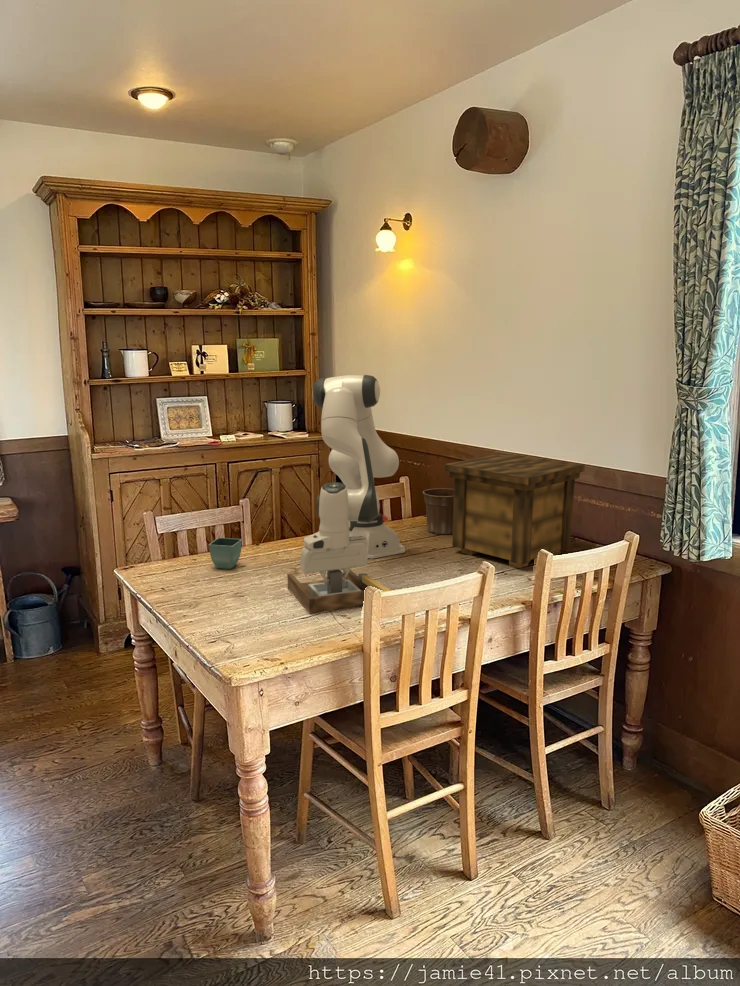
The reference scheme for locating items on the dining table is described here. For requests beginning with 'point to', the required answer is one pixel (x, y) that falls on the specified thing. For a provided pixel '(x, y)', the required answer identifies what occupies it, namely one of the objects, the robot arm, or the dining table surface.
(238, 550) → the flower pot
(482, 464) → the crate
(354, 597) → the tray
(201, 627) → the dining table surface
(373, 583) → the yellow bar
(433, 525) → the plant pot
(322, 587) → the shallow grey tray
